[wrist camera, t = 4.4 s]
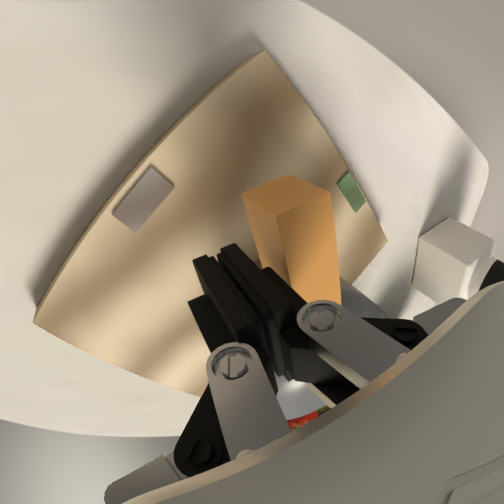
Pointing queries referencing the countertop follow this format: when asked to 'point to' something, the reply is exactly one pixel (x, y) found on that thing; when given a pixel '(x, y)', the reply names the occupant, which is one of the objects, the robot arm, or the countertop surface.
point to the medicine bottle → (455, 262)
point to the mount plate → (196, 225)
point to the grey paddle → (301, 260)
